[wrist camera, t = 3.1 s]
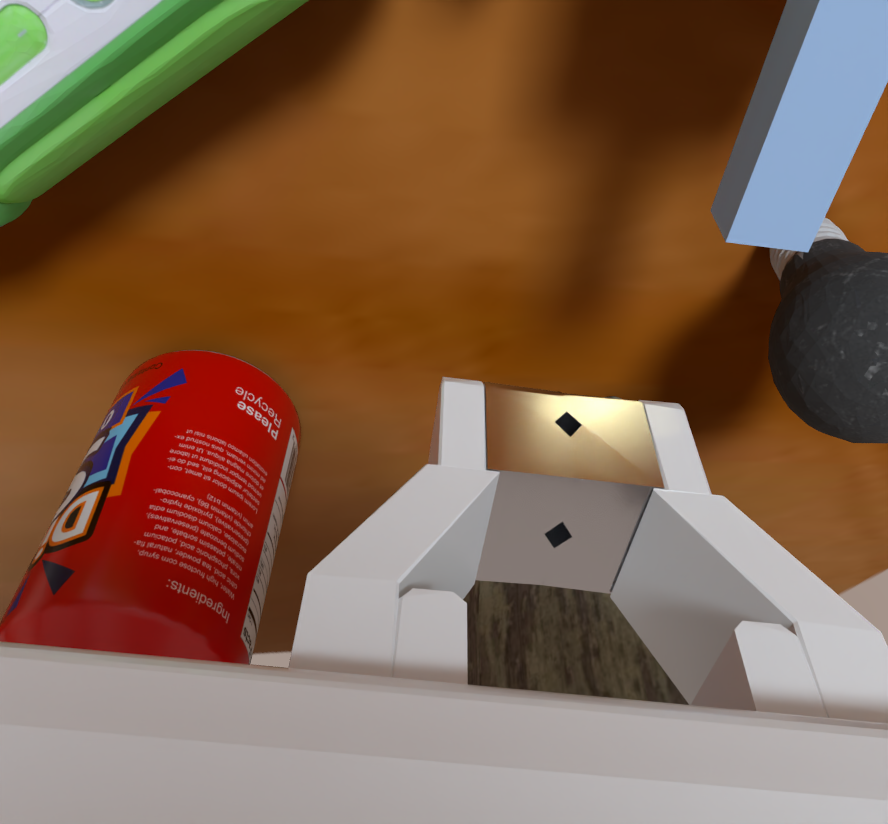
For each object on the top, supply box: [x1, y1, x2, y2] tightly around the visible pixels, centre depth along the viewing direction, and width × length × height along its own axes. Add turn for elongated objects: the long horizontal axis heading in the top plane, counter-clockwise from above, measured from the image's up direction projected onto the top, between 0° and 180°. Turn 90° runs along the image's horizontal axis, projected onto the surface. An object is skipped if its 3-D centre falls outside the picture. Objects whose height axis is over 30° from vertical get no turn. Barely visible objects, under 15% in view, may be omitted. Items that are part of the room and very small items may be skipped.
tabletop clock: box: [463, 396, 689, 705], centre depth 30 cm, size 14×9×25 cm, turn 31°
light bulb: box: [768, 218, 888, 443], centre depth 26 cm, size 6×6×10 cm
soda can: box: [0, 350, 301, 664], centre depth 31 cm, size 8×8×15 cm
